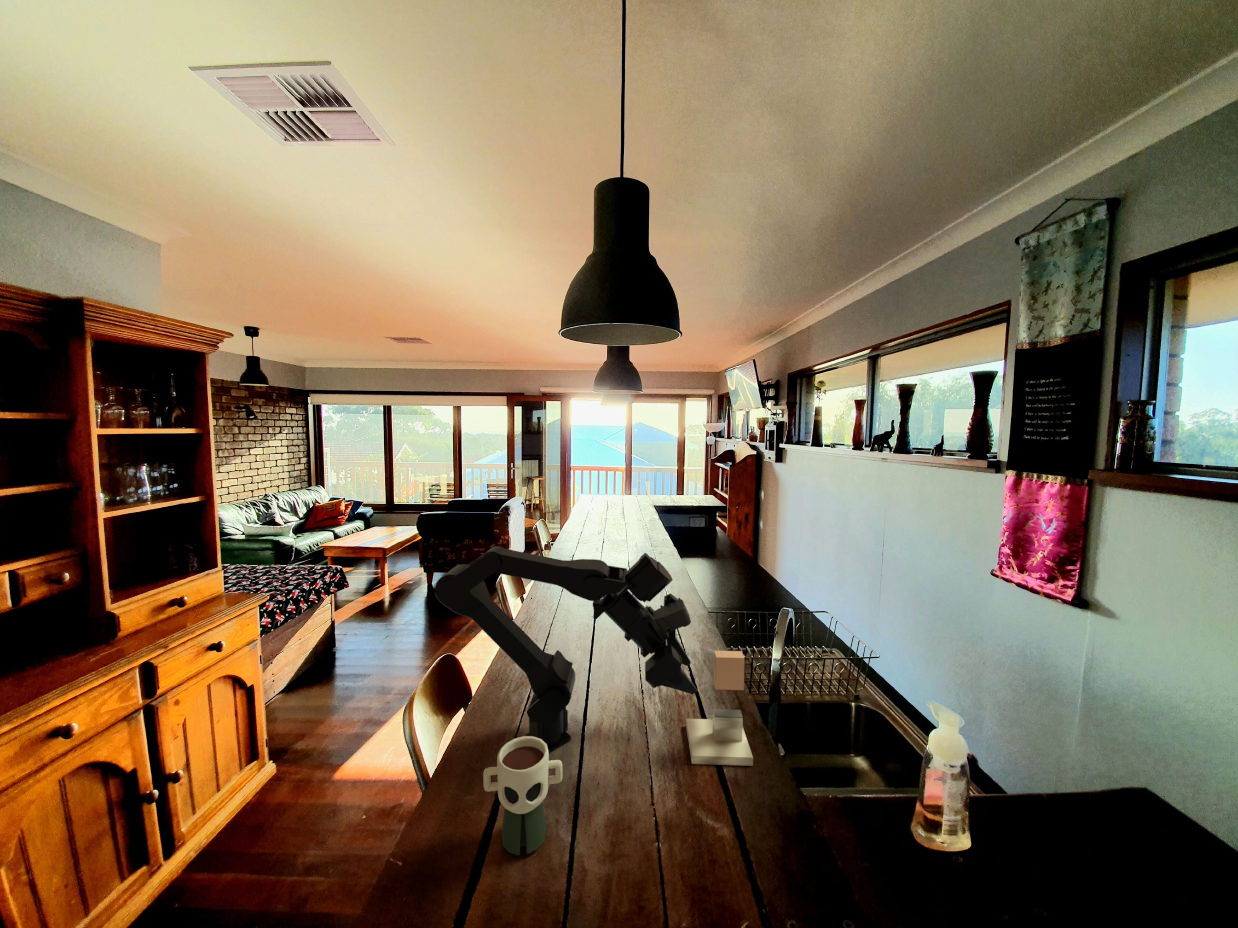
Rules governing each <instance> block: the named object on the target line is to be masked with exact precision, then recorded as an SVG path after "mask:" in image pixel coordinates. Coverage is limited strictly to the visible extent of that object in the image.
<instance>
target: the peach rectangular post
mask: <svg viewBox="0 0 1238 928" xmlns="http://www.w3.org/2000/svg"><path fill="white" fill-rule="evenodd" d="M713 684H714V688H715V689H714V690H727V691H729V690H730V691H734V690H735V691H744V690H745V688H744V687H745V655H744V654H743V651H742V650H741V651H740V650H713Z"/></svg>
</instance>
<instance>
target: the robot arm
mask: <svg viewBox="0 0 1238 928" xmlns="http://www.w3.org/2000/svg"><path fill="white" fill-rule="evenodd" d="M494 574H501V575H505V576H510V577H515V578H520V579H524V580H529V581H530V580H531V581H534V582H539V583H544V584H549V585H554V586H558V587H560V588H563V589H564V590H565V591H567V592H568V593H570V594H571V595H574V596H576V597H578V598H582V599H583V600H586V601H589V602H592V608H593V616H592V618H593V620H597V619H598V618H600V617H601V616H602V615H603V614H605V615H607V617H608V618H610V619H611V621H612V622H614V624H615V625H616V626H618V628H619V629H621V631H622V632H623V633H624V637H623V638H624V639H625V640H626V641H627V642H630V641H632V642H633V643H635V645H637V647H638V648H639V649H640V655H641V656H642V657H643V658H646V657H647V656H648V655H651V656H650V657H649V658H648V659H647V660H646V661H645V662H644V664H645V665H644V671H645V673H644V678H645V679H644V680H645V681H646V682H647V683H648V684H649V686H651V688H653V689H655V688H660V687H666V688H670V689H674V690H677V691H680V692H683V693H687V694H690V695H695V694H696V693H697V688H696V686H695V685H694V682H692V680H691V679H690V677H688V675H687V673H686V672H685V671H684V669H683V668H682V665H683V666H685V667H688V666H690V665H691V663H692V661H691V659H690V658H689V656H688V655H687V653H686V651H685V650H684V648H683V647H682V644H681V642H680V641H679V639H678V638H677V635H676V633H677V632H676V631H677V630H679V629H680V628H682V627H683V628H686V627H688V626H690V625H691V624H692V620H691V616H690V614H689V612H688V609H687V606H686V605H685V602H684V600H683V599H681V597H676V596H674V595H673V594H672V593H668V594H666V595H664V596H663V597H664V598H663V604H661V605H660V607H659V608H657V609H653V607H652V606H648V605H646V606H644V605H643V604H642V603H641V602H643V603H646V602H651V601H652V600H654V598H655V597H656V596H657V595H659V594H660V593H661V592H662V591H663V590H664V589H665V588H666V587H667V586H668V585H670V584H671V582H673V577H672V575H671V574H670V573H669V571H668V569H667V568H665V566H664V565H663V564H662V563H661V562H660V561H657V560H656V559H655V558H654V557H652V556H650V555H649V554H648V553H647V552H643V554H642V555H641V556H640V557H639V558H638V560H637V561H636V562H635V563H634V564H633V565H632V566H631V567H630V568H628V569H627V568H625V567H621V566H620V567H619V566H613V565H608V564H607V562H605V561H604V560H601V559H593V558H592V559H591V558H590V559H588V558H583V559H582V558H580V559H572V560H571V559H570V560H562V559H558V558H555V557H554V558H553V557H547V556H543V555H537V554H533V553H528V552H523V551H518V550H513V549H508V548H504V547H503V546H498V545H496V546H492V547H491V548H490V549H489V550H487V551H486V552H485V553H484V554H482V555H481V556H479V557H478V558H476V559H474V560H473V561H471V562H470V563H468V564H466V563H465V564H459V565H455V566H454V567H453V568H451V569H450V570H449V571H448V572H446V573H445V574H443V576H441V577H440V578H439V579H438V581H437V582H436V584H435V593H434V595H435V597H436V599H437V600H438V602H439V603H441V604H442V605H444V606H445V608H446V607H447V608H448V609H449V610H450V611H452V612H453V613H455V614H457V615H461V616H463V617H467V618H470V619H471V620H472V621H473V622H474V623H475V624H477V627H479V628H480V629H481V630H482V631H483V632H484V633H485V634H486V635H487V636H488V637H489V639H491V641H493V642H494V643H495V644H496V645H497V646H498V647H499V648H500V649H501V650H502V651H503V652H504V653H505V654H506V655H507V656H508V657H509V658H510V659H511V661H513V663H515V664H516V665H517V666H518V667H519V668H520V669H521V670H522V671H523V673H525V675H526V677H527V680H528V682H529V685H530V688H531V691H532V692H533V695H532V696H531V700H530V702H529V704H528V707H527V710H526V714H527V718H528V726H529V727H528V732H527V733H526V734H524V736H533V737H536V738H539V739H541V740H543V741H544V742H545V743H546V744H547V748H548V752H549V753H551V752H553V751H555V750H556V749H558V748H559V747H561V746H563V745H565V744H567V743H568V742H570V741H571V740H572V735H571V734H569V733H568V731H569V715H568V714H569V713H568V709H567V706H568V705H569V704H570V702H571V698H572V694H573V691H574V687H575V683H576V671H575V670H574V667H573V665H574V663H573V662H571V661H569V659H566V657H565V656H564V655H563V653H562V652H561V651H560V650H556V651H555V653H554V654H552V653H548V652H546V651H544V650H542V648H541V647H539V646H538V644H537V643H535V641H534V640H532V638H530V636H529V635H528V634H527V633H526V632H525V631H524V630H523V629H522V628H521V627H520V626H519V625H518V624H517V623H516V621H514V620H513V619H512V618H511V617H510V615H508V614H507V613H506V612H505V611H504V610H503V609H502V608H501V607H500V606H499V604H498V603H496V602H495V600H493V599H492V597H491V595H490V592H489V590H488V587H487V584H486V582H485V580H486V579H488V578H489V577H490V576H492V575H494Z"/></svg>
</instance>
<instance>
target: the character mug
mask: <svg viewBox="0 0 1238 928" xmlns="http://www.w3.org/2000/svg"><path fill="white" fill-rule="evenodd" d="M549 753H550V752H548V748H547V744H546V743H545V742H544V741H543V740H541V739H539V738H536V737H533V736H525V735H524V736H523V735H522V736H519V737H516V738H513V739H511V740H510V741H507V742H506V743H505V744H504V745H502V747H500V749H499V751H498V753H497V757H496V758H497V759H496V766H489V767H486V768H485V769H484V771H483V773H482V774H483V775H482V776H483V777H482V778H483V789H484V792H495V791H497V795H498V800H499V802H500V803H501V805H502V807H504V812H503V818H502V827H501V828H502V829H501V840H502V841H501V843H502V846H503V848H504V849H506V851H507V852H508V854H509V853H510V854H512V855H515V856H520V855H521V847H526V849H525V850H526V855H527V854H531V853H533V852H534V851H537V850H538V849H539V848H540V846H541V845H542V844H543V843H544V842H545V840H546V834H547V830H548V829H547V828H548V827H547V820H546V813H545V808H544V800H545V799H546V796H547V794H548V792H549V791H548V790H549V788H550V785H554V784H560V783H561V782H562V780H563V762H562V761H561V760H560V759H552V760H550V754H549ZM550 769H555V775H550ZM496 775H497V782H496V781H495V782H491V781H492V779H491V778H492V777H491V776H496Z"/></svg>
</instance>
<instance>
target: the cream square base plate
mask: <svg viewBox="0 0 1238 928" xmlns="http://www.w3.org/2000/svg"><path fill="white" fill-rule="evenodd" d="M743 716H744V715H743V714H742V711H741V709H726V708H725V709H721V708H718V709H716V708H712V718H711V719H710V718H709V719H707V718H685V727H686V728H685V729H686V735H687V740H688V747H689V748H688V749H689V752H690V753H689V754H690V760H691V765H693V764H694V765H717V766H718V765H719V766H720V765H721V766H722V765H723V766H749V767H750V766H751V767H752V766H754V756H753V754H752V750H751V747H750V745H749V742H748V739H747V735H746V733H745V729H744V725H743V723H744V721H743V719H744V717H743Z"/></svg>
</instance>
